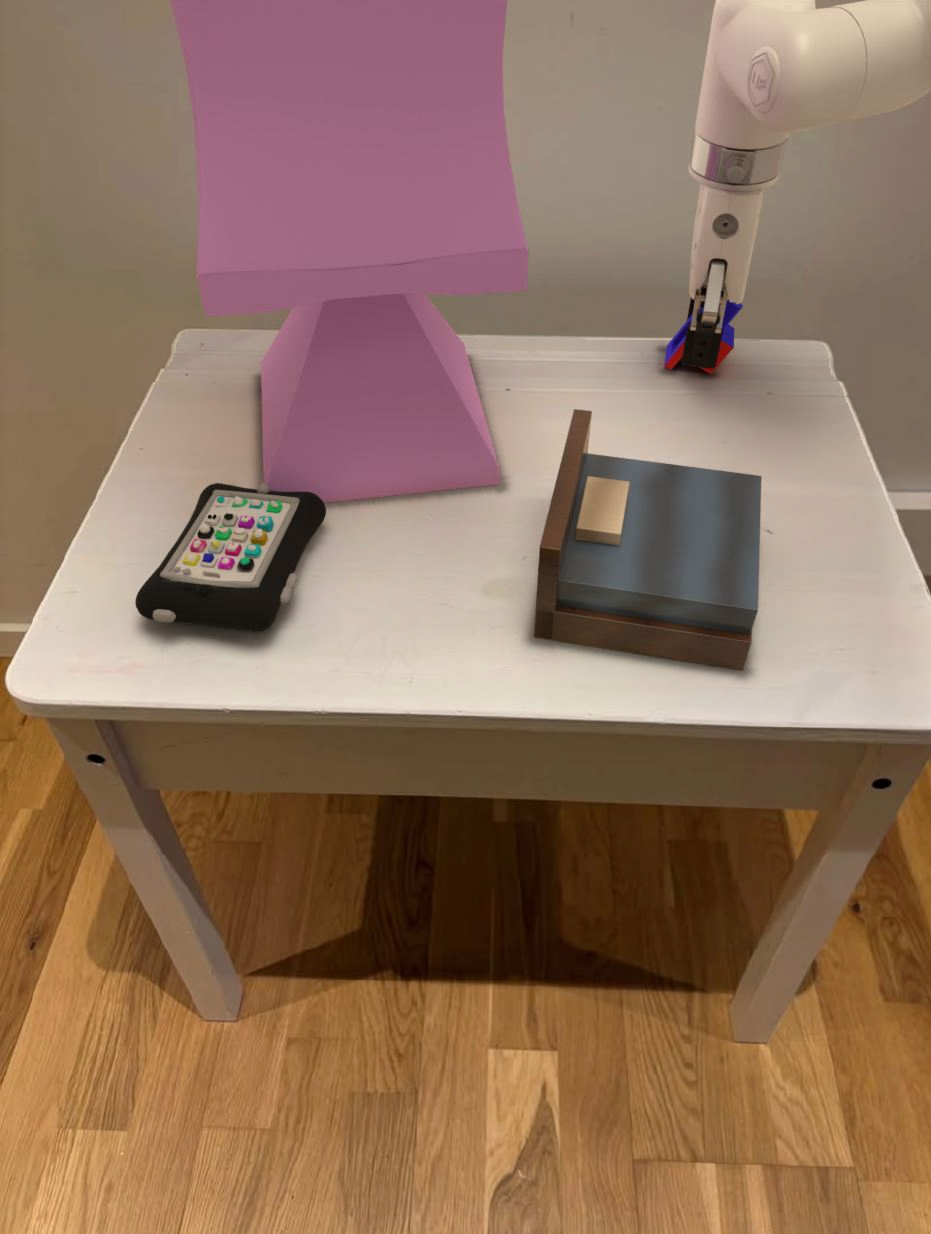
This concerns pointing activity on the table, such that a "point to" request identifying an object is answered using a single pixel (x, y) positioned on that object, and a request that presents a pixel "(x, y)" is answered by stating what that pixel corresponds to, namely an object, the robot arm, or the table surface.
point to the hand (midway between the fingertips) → (700, 344)
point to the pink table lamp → (356, 225)
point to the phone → (233, 559)
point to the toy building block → (727, 344)
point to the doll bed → (649, 557)
